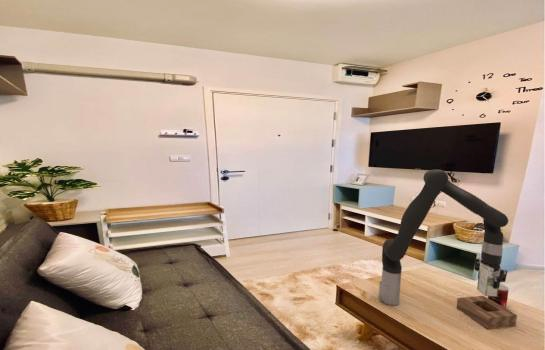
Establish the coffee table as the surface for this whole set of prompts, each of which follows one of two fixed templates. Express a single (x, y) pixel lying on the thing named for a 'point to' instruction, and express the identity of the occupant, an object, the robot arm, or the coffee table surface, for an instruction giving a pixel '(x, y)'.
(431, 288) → the coffee table surface
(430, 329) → the coffee table surface
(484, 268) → the syrup box
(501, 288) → the canned food
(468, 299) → the hollow square frame
